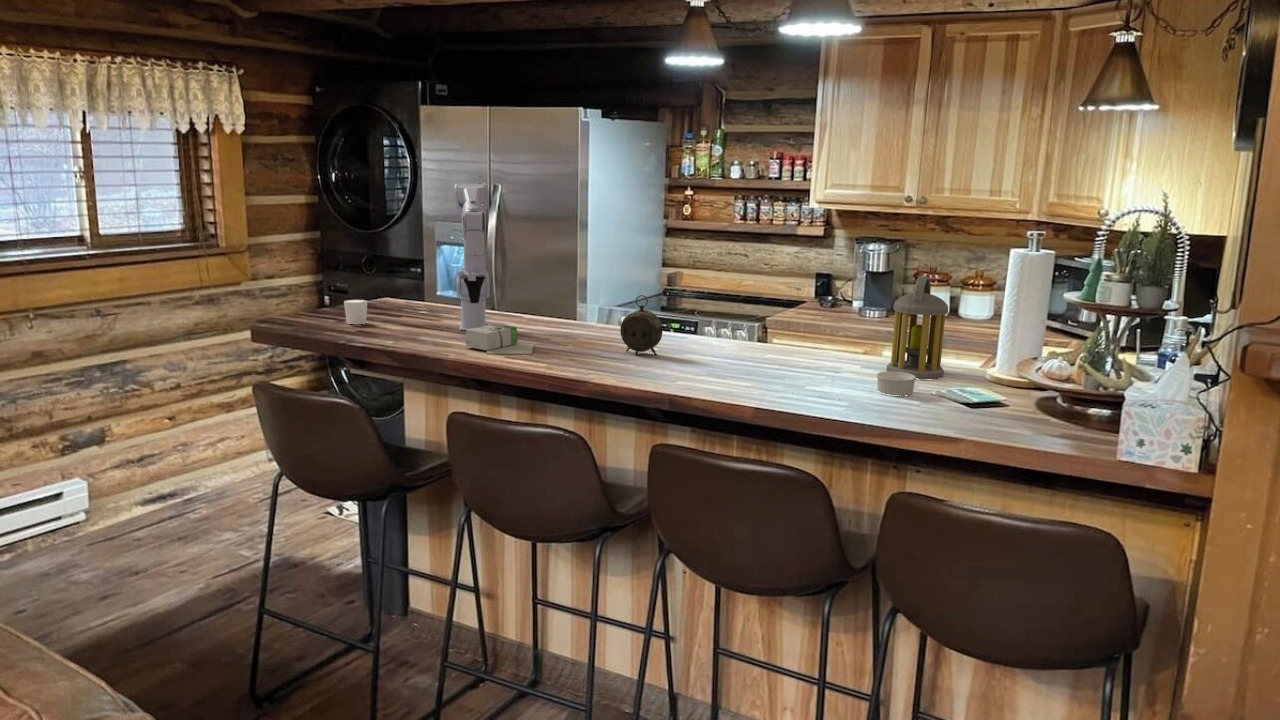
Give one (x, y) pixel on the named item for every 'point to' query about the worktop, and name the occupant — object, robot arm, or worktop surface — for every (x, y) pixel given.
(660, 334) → the alarm clock
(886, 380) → the ramekin
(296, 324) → the worktop surface
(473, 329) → the ink box
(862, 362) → the worktop surface
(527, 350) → the mat
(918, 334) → the lantern
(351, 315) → the white cup
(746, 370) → the worktop surface
